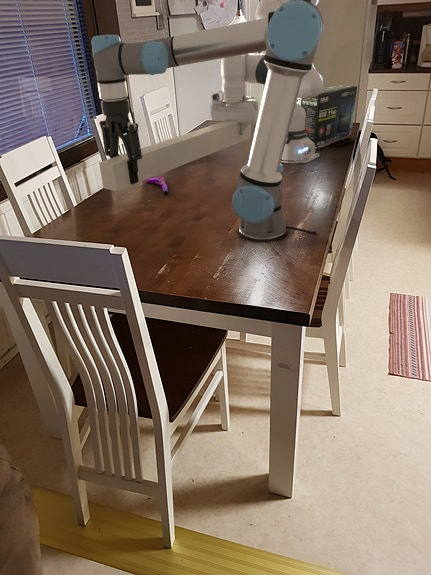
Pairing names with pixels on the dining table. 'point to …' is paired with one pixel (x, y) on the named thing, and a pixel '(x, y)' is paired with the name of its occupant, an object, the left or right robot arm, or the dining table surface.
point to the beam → (172, 153)
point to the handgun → (161, 182)
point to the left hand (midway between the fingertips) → (127, 181)
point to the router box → (330, 113)
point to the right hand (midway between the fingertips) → (234, 133)
